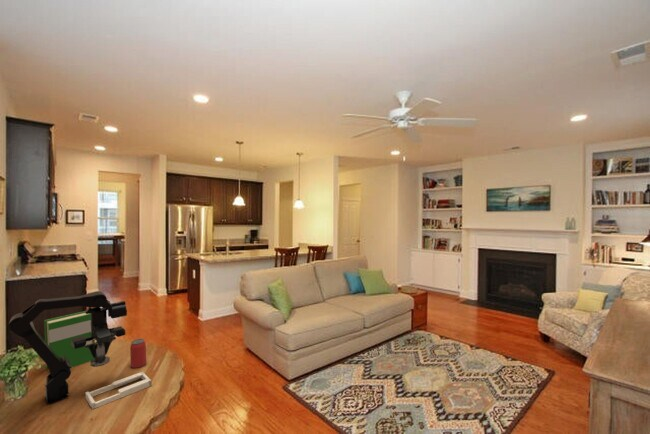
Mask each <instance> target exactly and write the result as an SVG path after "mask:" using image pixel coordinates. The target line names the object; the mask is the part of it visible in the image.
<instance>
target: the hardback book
mask: <svg viewBox="0 0 650 434" xmlns="http://www.w3.org/2000/svg"><path fill="white" fill-rule="evenodd" d="M43 321H44V341H45V342H46V343H47V344H48V345H49V347H50V348H51V349H52V350H53V351H54V352H55V354H56V355H57V356H59V357H61V358H62V357H63V356H64V355H65V356H66V358H67V360H68V361H71V369H72V368H74V367H77V366H81V365H83V364H86V363H90V362H91V361H92V360H94V358H93V356H92V354H91V352H90V350H89V348H88V347H81V348H77V349H74V348H73V346H72V345H71V341H72V339H73V338H77V337H81V336H83V337H84V338H87V337H91V313H89V314H86V313H85V310H84V311H79V312H75V313H71V314H66V315H61V316H57V317H56V316H55V317H53V318H48V319H44V320H43ZM95 342H96V340H94V341H92V343H93V344H94V343H95ZM45 368H46V370H48V371H49V368H48V366H47V364H46V363H45Z"/></svg>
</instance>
